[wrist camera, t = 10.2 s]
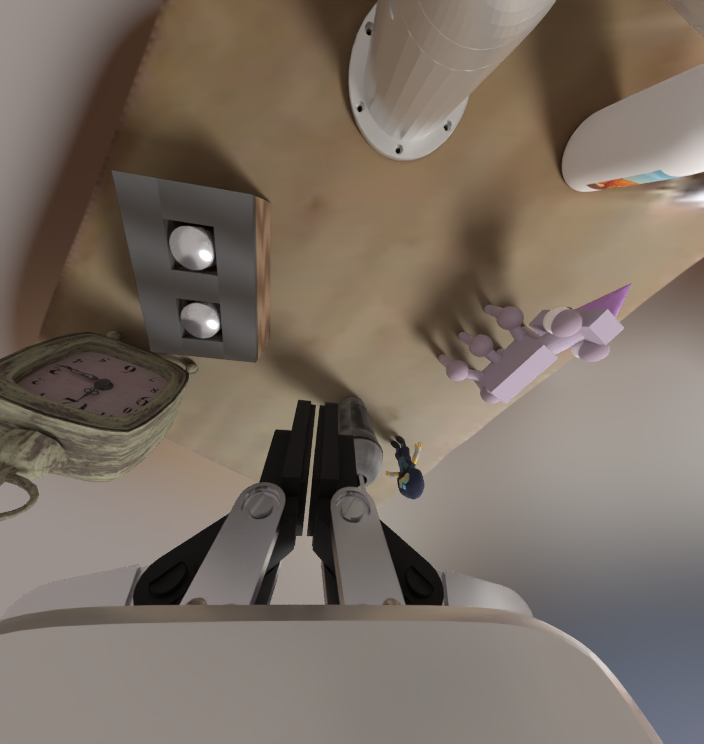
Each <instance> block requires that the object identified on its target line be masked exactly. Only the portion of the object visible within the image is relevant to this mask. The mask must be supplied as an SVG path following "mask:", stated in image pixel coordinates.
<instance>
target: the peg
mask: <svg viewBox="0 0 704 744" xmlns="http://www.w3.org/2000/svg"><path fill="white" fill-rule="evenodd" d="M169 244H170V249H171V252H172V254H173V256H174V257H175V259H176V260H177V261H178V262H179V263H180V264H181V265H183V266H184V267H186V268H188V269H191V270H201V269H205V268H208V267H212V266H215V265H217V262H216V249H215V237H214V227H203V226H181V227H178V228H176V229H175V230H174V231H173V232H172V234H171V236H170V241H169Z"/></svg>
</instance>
